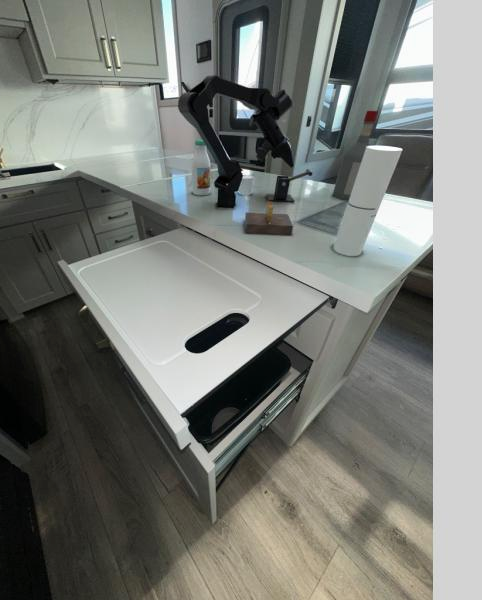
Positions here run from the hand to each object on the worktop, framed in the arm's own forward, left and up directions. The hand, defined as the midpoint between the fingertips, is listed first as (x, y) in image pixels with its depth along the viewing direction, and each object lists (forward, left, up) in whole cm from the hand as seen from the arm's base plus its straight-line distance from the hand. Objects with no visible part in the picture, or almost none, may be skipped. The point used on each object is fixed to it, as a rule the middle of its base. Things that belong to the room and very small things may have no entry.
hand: (292, 166), depth 98 cm
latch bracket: (-2, +3, -13) cm, 14 cm away
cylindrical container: (+11, -40, -13) cm, 43 cm away
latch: (+3, +3, -6) cm, 7 cm away
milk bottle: (-35, +9, -13) cm, 39 cm away
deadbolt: (-10, -26, -10) cm, 30 cm away
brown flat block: (-10, -26, -13) cm, 31 cm away
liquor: (+26, +9, -13) cm, 31 cm away
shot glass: (-16, +10, -13) cm, 23 cm away
